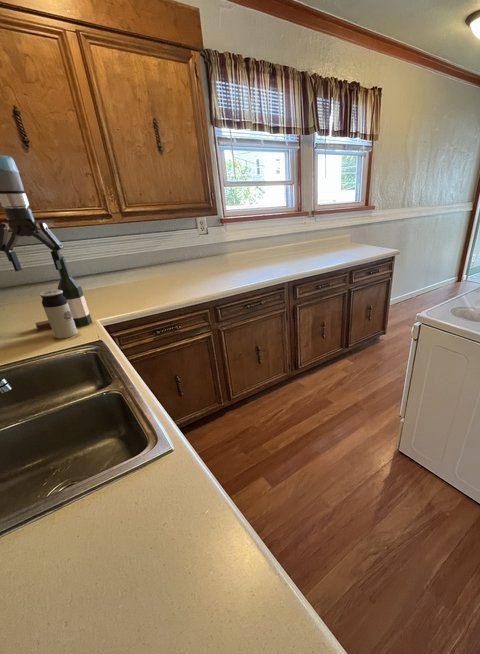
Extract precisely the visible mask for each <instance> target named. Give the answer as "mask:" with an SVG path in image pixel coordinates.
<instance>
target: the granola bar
mask: <svg viewBox="0 0 480 654" xmlns="http://www.w3.org/2000/svg"><path fill="white" fill-rule="evenodd" d="M35 327H36V330H37V332H39V331H44V330H49V329H52V328H51V326H50V323H49V321H48V319H47V320H43V321H38V322H35Z"/></svg>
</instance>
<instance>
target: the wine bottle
mask: <svg viewBox="0 0 480 654" xmlns="http://www.w3.org/2000/svg"><path fill="white" fill-rule="evenodd" d="M60 256H61V260H59V261H60V264H61V267H62V269H59V270H57V271H58V274H59V277H60V280H59V282H58V286H57V289H56V290H62V291H63V292H62V293H63V296H64V297H65V298H66V300H67V303H68V305H69V308H70V311H71V314H72V317H73V320H74V323H75V326H76V328H83V327H87V326H90V325H91V324H92V323H93V320H92V317H91V313H90V311H89V308H88V304H87V301H86V299H85V295H84V292H83V288H82V286H81V284H79V283H78V282H77V281H76V280H75V279H74V278H73V277H72V276H71V273H70V270H69V267H68V264H67V261H66V259H65V256H64V255H63V254H62V253H60Z"/></svg>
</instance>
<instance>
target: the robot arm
mask: <svg viewBox="0 0 480 654" xmlns="http://www.w3.org/2000/svg"><path fill="white" fill-rule="evenodd" d="M0 204H1V207H3V212H4V215H5V218H6V220H7V221H8V223H7V222H0V252H3V253H5V254H6V257H7V260H8V261H9V262H11V264H12V266H13V270H14V272H19V271H23V268H22V266H21V264H20V261H19V258H18V255H17V252H16V251H14V249H15V246H16V244H17V242H18V241H19V238H21V237H34V238H36V239H37V240H38V241H39V242H41V243H42V244H43V245H44V246H45V247H47V248H48V249H50V250H51V251H50V255H51V258H52V261H53V264H54V267H55V270H56V271H58V270H59V269H62V267H61V264H60V261H59V260H61V256H60V254H61V252H60V251H61V250H63V249H64V248H65V247H64V245H63V244H62V243H61V241H60V240H59V239H58V238H57V236H55V234H54V233H53V232H52V231H51V230H50V228H49V227H48V224H47V222H46V221H42V222H41V221H40V222H38V223H37V222H36V221H35V216H34V214H33V211H32V208H31V207H30V202H29V199H28V196H27V194H26V191H25V188H24V185H23V182H22V178H21V175H20V171H19V169H18V166H17V164H16V162H15V159H14V158H13V156H10V155H4V154H0ZM10 229H11V230H12V232H11V234H10V238H9V240H8V237H9V230H10ZM38 229H39V230H41V231H42V232H40V231H39V230H38ZM42 233H43V234H44V235H45V236H44V235H43V234H42Z"/></svg>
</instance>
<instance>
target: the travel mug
mask: <svg viewBox="0 0 480 654" xmlns="http://www.w3.org/2000/svg"><path fill="white" fill-rule="evenodd" d="M62 292H63V291H62V290H58V289H51V290H50V289H49V290H45V291H42V292H40V293H39V296H40V297H41V306H42V307H43V310H44V313H45V315H46V318H47V320H48V321H49V323H50V326H51V328H50V329H51V331H52V333H53V336H54V338H56V339H69V338H72V337H74V336H76V335H77V334H78V333H79V331H78V328H77V327H76V326H75V323H74V320H73V317H72V314H71V311H70V308H69V305H68V303H67V300H66V298H65V297H64V296H63V293H62Z"/></svg>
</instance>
